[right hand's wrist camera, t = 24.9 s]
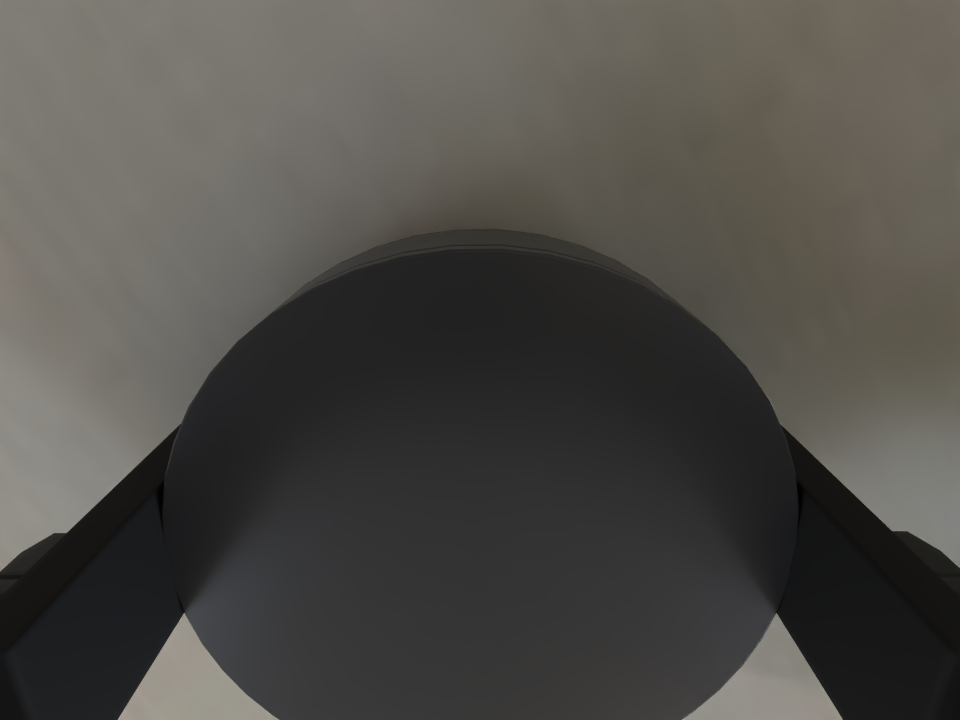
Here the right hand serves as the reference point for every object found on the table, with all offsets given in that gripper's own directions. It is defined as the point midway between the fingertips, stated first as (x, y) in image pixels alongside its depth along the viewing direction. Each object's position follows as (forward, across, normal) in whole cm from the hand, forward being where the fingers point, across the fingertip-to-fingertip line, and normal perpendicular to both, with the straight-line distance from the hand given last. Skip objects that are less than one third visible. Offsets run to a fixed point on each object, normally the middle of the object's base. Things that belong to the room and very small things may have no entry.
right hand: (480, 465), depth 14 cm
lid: (-3, 0, 0) cm, 3 cm away
